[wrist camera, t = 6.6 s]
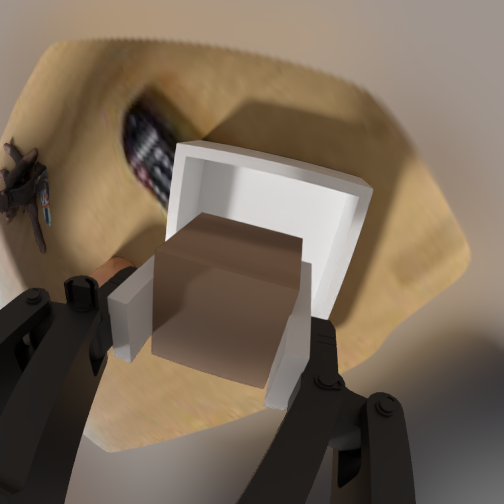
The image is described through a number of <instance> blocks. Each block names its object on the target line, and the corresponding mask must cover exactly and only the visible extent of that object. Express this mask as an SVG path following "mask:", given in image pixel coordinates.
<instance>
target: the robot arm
mask: <svg viewBox="0 0 504 504" xmlns="http://www.w3.org/2000/svg"><path fill="white" fill-rule="evenodd" d="M154 258H155V254H154V255H153V256H152V257H151V258H150V259H149V260H147V261H146V262H145V263H144V264H143V265H142V266H141V267H140V268H136V267H132V266H129V267H126V268H124V269H121V270H120V271H118V272H117V273H116V274H115V275H114V276H113V277H111V278H110V279H109V280H108V282H105V283H104V284H103V285H102V286H101V287H100V288H99V285H98V282H97V281H96V280H95V279H94V278H92V277H89V276H75V277H72V278H69V279H68V280H66V281H65V282H64V287H65V293H66V299H67V303H66V304H63V303H57V302H51V301H50V296H49V293H48V292H47V291H46V290H45V289H41V288H32V289H28V290H26V291H24V292H23V293H21V294H20V295H19V296H17V297H16V298H15V299H14V300H12V301H11V302H10V303H8V304H7V305H6V306H5V307H3V308H2V309H1V310H0V504H64V503H65V498H66V493H67V489H68V485H69V481H70V477H71V473H72V468H73V465H74V461H75V458H76V454H77V450H78V447H79V444H80V440H81V437H82V434H83V430H84V427H85V424H86V421H87V418H88V415H89V412H90V409H91V406H92V403H93V400H94V397H95V394H96V391H97V388H98V385H99V383H100V380H101V377H102V374H103V372H104V369H105V366H106V364H107V360H108V356H107V351H108V350H109V349H110V347H111V346H112V345H113V352H114V356H116V357H119V358H121V359H123V360H126V361H128V362H130V363H131V362H132V361H133V359H134V358H135V357H136V355H137V354H138V352H139V351H140V350H141V348H142V347H143V345H144V344H145V343H146V341H147V340H148V338H149V337H150V336H151V334H152V311H153V278H154V277H153V274H154ZM311 289H312V263H308V262H304V261H302V262H301V277H300V291H299V294H298V297H297V300H296V302H295V305H294V308H293V311H292V314H291V315H289V318H288V321H287V324H286V327H285V330H284V333H283V336H282V339H281V342H280V345H279V347H278V350H277V353H276V356H275V359H274V362H273V364H272V367H271V371H270V376H269V381H268V386H267V391H266V396H265V400H264V405H263V406H266V407H271V408H275V409H280V410H285V408H286V406H287V404H288V408H287V413H286V415H285V417H284V419H283V421H282V423H281V425H280V426H279V428H278V430H277V433H276V434H275V436H274V438H273V440H272V442H271V444H270V446H269V447H268V449H267V451H266V453H265V455H264V456H263V458H262V460H261V462H260V463H259V465H258V467H257V469H256V470H255V472H254V474H253V476H252V477H251V479H250V481H249V482H248V484H247V486H246V487H245V489H244V491H243V492H242V494H241V495H240V497H239V499H238V500H237V502H236V503H235V504H305V502H306V499H307V497H308V494H309V492H310V490H311V488H312V485H313V483H314V480H315V478H316V475H317V472H318V470H319V468H320V465H321V462H322V460H323V457H324V454H325V451H326V448H327V446H330V447H332V448H333V462H332V479H331V495H330V504H416V501H415V489H414V479H413V470H412V464H411V463H412V462H411V456H410V449H409V441H408V436H407V430H406V423H405V418H404V413H403V409H402V406H401V404H400V403H399V401H398V400H397V399H396V398H395V397H393V396H391V395H390V394H387V393H383V392H377V393H374V394H372V395H370V397H369V398H368V399H367V398H365V397H363V396H360V395H358V394H356V393H354V392H352V391H350V390H349V389H347V388H346V387H345V382H344V380H343V378H342V377H341V376H340V375H339V374H338V359H337V347H336V346H337V344H336V331H335V328H334V326H333V325H332V323H331V321H330V320H326V319H321V318H317V317H313V316H311Z"/></svg>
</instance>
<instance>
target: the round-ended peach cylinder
mask: <svg viewBox="0 0 504 504" xmlns="http://www.w3.org/2000/svg"><path fill="white" fill-rule="evenodd" d="M129 266H132V267H135V266H134V265H133V264H132V263H131V262H129V261H128V260H126V259H124V258H121V257H113V258H111V259H109V260H108V261H107V262H105V263H104V264H103V265H101V266H100V267H99V268H98V269H96V270H95V271H94V272H92V273H91V274H90V275H88V276H89V277H92V278H94V279H95V280H96V281H97V282H98V285H99V288H100V287H101V286H102V285H103V284H104V283H105V282H108V280H109V279H110V278H111V277H113V276H114V275H115V274H116V273H117V272H118V271H120V270H121V269H124V268H126V267H129Z"/></svg>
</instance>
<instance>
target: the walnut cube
mask: <svg viewBox="0 0 504 504" xmlns="http://www.w3.org/2000/svg"><path fill="white" fill-rule="evenodd" d="M302 245H303V238H300V237H296V236H292V235H289V234H285V233H281V232H278V231H274V230H270V229H266V228H262V227H259V226H255V225H251V224H247V223H243V222H239V221H235V220H231V219H228V218H224V217H220V216H216V215H212V214H208V213H204V212H202V213H200V214H199V215H198V216H197V217H195V218H194V219H193V220H191V221H190V222H189V223H188V224H186V225H185V226H184V227H183V228H181V229H180V230H179V231H178V232H176V233H175V234H174V235H173V236H172V237H170V238H169V239H168V240H167V241H165V242H164V243H163V244H162V245H161V246H159V247H158V248H157V249H156V250H155V258H154V274H153V277H154V278H153V311H152V354H153V355H156V356H159V357H161V358H164V359H167V360H170V361H172V362H175V363H178V364H181V365H184V366H187V367H190V368H193V369H196V370H199V371H202V372H205V373H208V374H211V375H215V376H218V377H221V378H224V379H228V380H231V381H235V382H238V383H242V384H246V385H249V386H253V387H257V388H261V389H264V387H265V385H266V382H267V379H268V377H269V374H270V371H271V367H272V364H273V362H274V359H275V356H276V353H277V350H278V347H279V345H280V342H281V339H282V336H283V333H284V330H285V327H286V324H287V321H288V318H289V315H291V314H292V311H293V308H294V305H295V302H296V300H297V297H298V294H299V291H300V277H301V262H302Z"/></svg>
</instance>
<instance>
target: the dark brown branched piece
mask: <svg viewBox="0 0 504 504" xmlns="http://www.w3.org/2000/svg"><path fill="white" fill-rule="evenodd" d="M3 148H4V150H5V152H6V153H7V154H10V156H11V157H12V158H13V160H14V161H15V163H16V167H15V168H14V169H13V170H12V171H11V172H10V173H9V172H8V171H6V170H0V178H4V181H5V184H6V188H5V189H4V190H2V191H0V213H2V214H6V217H7V218H6V219H5V220H4V223H5V224H9V223H10V222H11V221H12V220H13V219H14V217H15V216H16V214H17V212H18V210H19V206H21V207H22V209H23V213H25V206H26V207H27V210H28V213H29V216H30V218H31V220H32V224H33V229H34V234H35V236H36V242H37V243H38V246H39V248H40V251H41V253H42V254H43V253H45V250H46V246H45V242H44V239H43V236H42V232H41V229H40V225H39V222H38V208H37V203H36V194H38V195H39V197H40V199H41V204H42V209H43V214H44V218H45V222H46V224H47V225H48V226H51V224H52V221H51V215H50V209H49V186H48V176H47V172H46V166H43V165H41V164H40V163H39V162H37V163H36V164H35V168H34V172H35V173H34V174H33V176H32V178H31V179H30V175H29V169H30V168H31V167H32V165H33V164H34V162H35V161H36V159H37V155H38V153H37V150H36V148H34V149H33V150H32V151H31V152H29V153H28V154H26V155H25V156H22V155H21V154H20V152H19V151H18V150H17V149H16V147H14V146H11V145H10V144H8V143H5V144H4V146H3Z"/></svg>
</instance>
